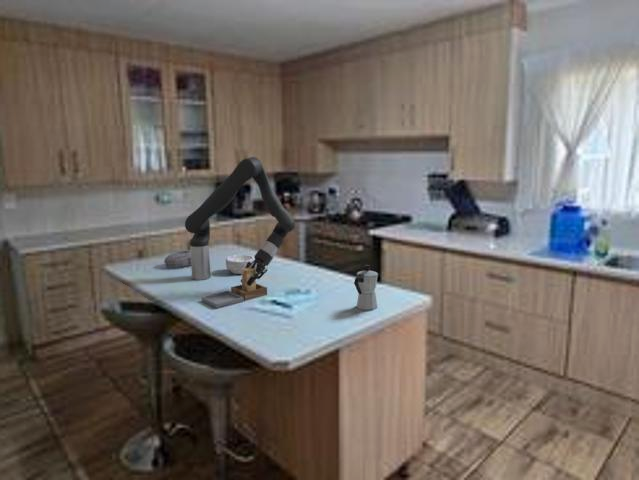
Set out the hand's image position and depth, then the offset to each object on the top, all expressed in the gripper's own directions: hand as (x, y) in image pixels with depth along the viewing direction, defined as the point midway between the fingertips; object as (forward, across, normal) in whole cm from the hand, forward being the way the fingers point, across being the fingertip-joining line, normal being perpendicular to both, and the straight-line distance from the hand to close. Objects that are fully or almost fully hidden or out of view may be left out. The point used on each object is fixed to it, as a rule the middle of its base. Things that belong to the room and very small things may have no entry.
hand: (245, 283), depth 203 cm
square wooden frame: (+3, 0, +5) cm, 6 cm away
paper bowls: (-10, -36, +18) cm, 42 cm away
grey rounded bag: (+2, -72, +6) cm, 72 cm away
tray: (+12, 0, -4) cm, 13 cm away
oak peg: (+3, 0, +5) cm, 6 cm away
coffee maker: (-16, +48, +24) cm, 55 cm away
